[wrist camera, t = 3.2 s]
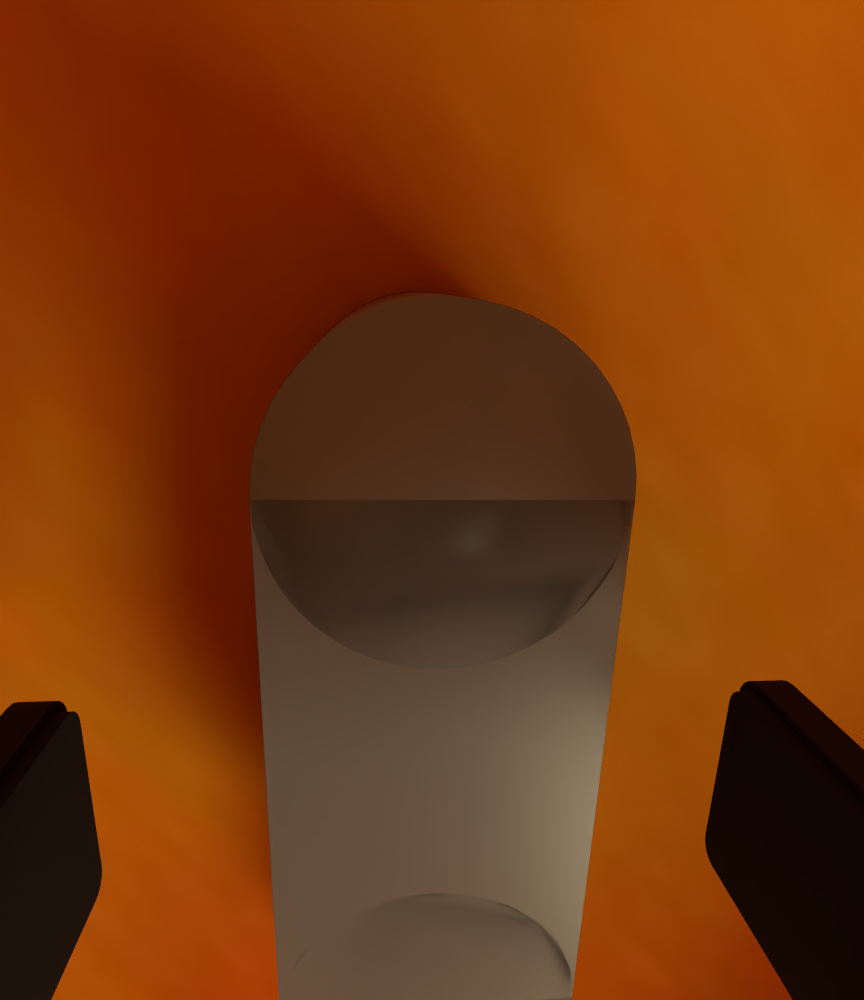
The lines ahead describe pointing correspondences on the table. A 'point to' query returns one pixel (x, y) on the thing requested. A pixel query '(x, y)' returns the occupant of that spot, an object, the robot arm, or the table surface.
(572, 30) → the table surface
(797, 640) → the table surface
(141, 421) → the table surface
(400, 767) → the dongle
